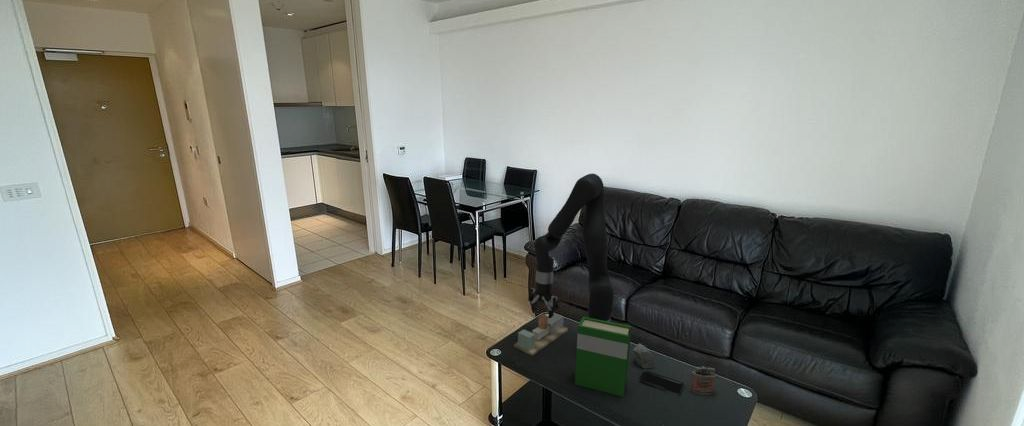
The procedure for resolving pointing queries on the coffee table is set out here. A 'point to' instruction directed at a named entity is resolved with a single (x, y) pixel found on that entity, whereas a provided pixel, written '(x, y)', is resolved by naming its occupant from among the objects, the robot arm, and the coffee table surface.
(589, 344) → the hardback book
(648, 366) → the mineral specimen
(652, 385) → the phone
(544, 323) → the tube
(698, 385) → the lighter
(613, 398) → the coffee table surface
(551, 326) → the aluminium sleeve
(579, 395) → the coffee table surface
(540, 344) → the oak base
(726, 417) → the coffee table surface
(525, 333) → the sage socket
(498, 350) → the coffee table surface
